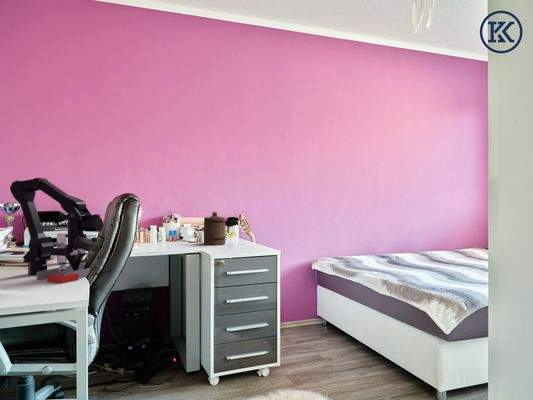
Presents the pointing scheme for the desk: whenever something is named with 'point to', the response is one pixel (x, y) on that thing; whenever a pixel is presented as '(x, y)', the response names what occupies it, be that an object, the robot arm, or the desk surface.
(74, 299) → the desk surface
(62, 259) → the syrup box
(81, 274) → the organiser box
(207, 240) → the wooden container
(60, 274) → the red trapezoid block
